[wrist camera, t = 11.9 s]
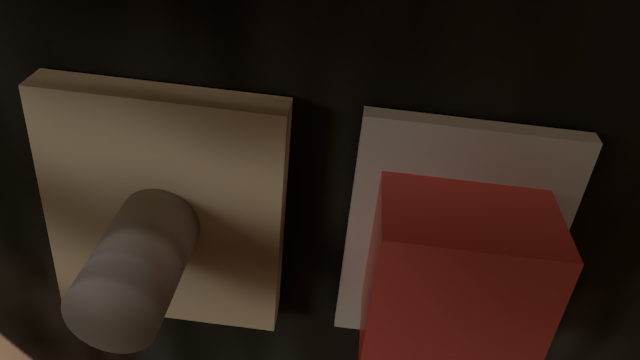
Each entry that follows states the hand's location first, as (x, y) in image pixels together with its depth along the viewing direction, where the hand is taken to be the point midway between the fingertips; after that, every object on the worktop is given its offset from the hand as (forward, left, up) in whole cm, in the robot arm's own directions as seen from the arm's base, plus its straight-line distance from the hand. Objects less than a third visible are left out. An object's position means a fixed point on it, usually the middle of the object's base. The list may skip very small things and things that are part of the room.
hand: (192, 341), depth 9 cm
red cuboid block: (+7, +6, -12) cm, 15 cm away
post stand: (+7, -5, -13) cm, 15 cm away
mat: (+7, +6, -13) cm, 16 cm away
